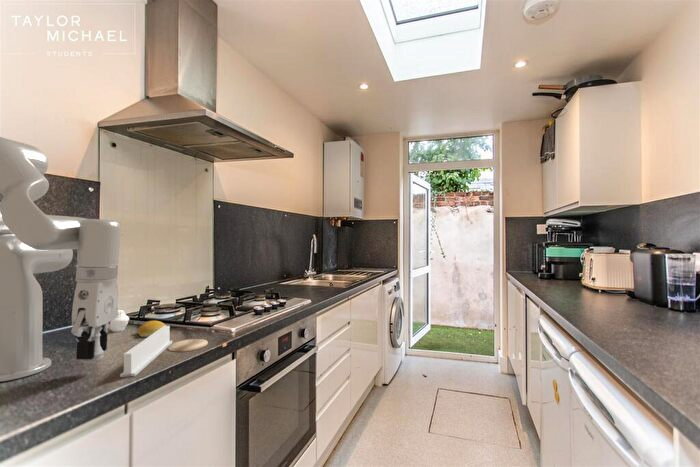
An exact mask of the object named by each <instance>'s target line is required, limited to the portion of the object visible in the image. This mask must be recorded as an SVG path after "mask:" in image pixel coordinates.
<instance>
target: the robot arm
mask: <svg viewBox="0 0 700 467" xmlns="http://www.w3.org/2000/svg"><path fill="white" fill-rule="evenodd" d="M48 168H49V161H48V158H47V156H46V155H45V153H44V152H43V151H42V150H41V149H39V148H38V147H36V146H34V145H30V144H27V143H24V142H20V141H16V140H13V139H9V138H5V137H3V136H2V137H1V136H0V194H1V195H2V198H1V202H0V383H1V382H7V381H13V380H16V379H17V380H18V379H22V378H26V377H28V376H32V375H34V374H35V375H36V374H38V373H40V372H43V371H44V370H47V369H48V368H49V367H51V366H52V359H51V358H49V357H43V325H44V324H43V323H44V322H43V317H44V316H43V313H44V312H43V310H44V309H43V306H44V305H43V301H44V300H43V289H42V287H41V285H40V283H39V282H38V280H37V278H36V277H35V275H34V274H42V273H43V274H44V273H51V272H57V271H60V270H63V269H65V268H66V267H68V266H69V265H70V263H71V262H72V261H73V256H74V252H73V250H77V255H76V269H75V270H76V271H75V282H76V284H75V290H74V295H73V301H72V309H71V310H72V311H71V326H72V328H71V331H70V333H71V334H72V335H74V336H75V341H76V355H75V356H76V360H79V359H93V358H94V351H95V340H93V337H94V332H95V328H98V327H100V326H101V327H102V330H101V331H100V334H101V335H100V346H101V347H102V350H103V351H104V352H105V351H106V350H107V347H108V333H109V330H110V327H109V324H110V321H112V320H114V319H115V318H116V317H117V315H118V310H119V287H118V281H117V280H118V275H119V273H118V271H119V256H120V242H121V240H120V239H121V225H120V223H119V222H118V221H116V220H112V219H99V218H85V217H81V216H80V217H79V216H68V215H54V214H45V213H44V212H43V211H42V210H41V209H40V208H39V207H38V206H37V205H36V204H35V201H37V200H39V199H40V198H42V197H43V196H45V195H46V194H47V192H48V190H49V188H50V183H49V180H48V179H47V178H46V177H45V174H46V173H47V171H48ZM86 324H87V325H89V326H87V325H86ZM85 329H89V334H88V333H87V331H85Z"/></svg>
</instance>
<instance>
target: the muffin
mask: <svg viewBox="0 0 700 467" xmlns="http://www.w3.org/2000/svg"><path fill="white" fill-rule="evenodd" d="M129 321H130V317H129V316H128V315H127V314H126V313H125V311H124V310H122V309H118V315H117V317H116V318H115V319H114V320H112V321H110V324H109V330H111V332H114V333H118V332H122V331H124V330H125V329H126V327H127V326H128V323H129Z"/></svg>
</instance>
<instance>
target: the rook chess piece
mask: <svg viewBox="0 0 700 467" xmlns="http://www.w3.org/2000/svg"><path fill="white" fill-rule="evenodd" d="M86 326H89V325H88V324H87V325H86ZM101 330H102V327H101V326H100V327H98V328H95V332H94V337H93V340H95V351H94V358H93V359H78V360H79V362H81V363H82V364H93V363H97V362H100V361H102V360H103V359H104V357H105V355H104V353H105V351H103V350H102V347H101V346H100V335H101V334H100V331H101ZM84 331H87V333H88V334H89V329H84Z"/></svg>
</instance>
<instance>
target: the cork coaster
mask: <svg viewBox="0 0 700 467" xmlns="http://www.w3.org/2000/svg"><path fill="white" fill-rule="evenodd" d="M208 343H209V342H208V340H206V339H201V338H191V339H183V340H180V341H176V342H172V344H170V345H169V346H168V347H167V348H168V351H170V352H173V353H175V352H176V353H179V352H180V353H181V352H182V353H183V352H192V351H196V350H201V349H203V348H205V347H206V346H208Z"/></svg>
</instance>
